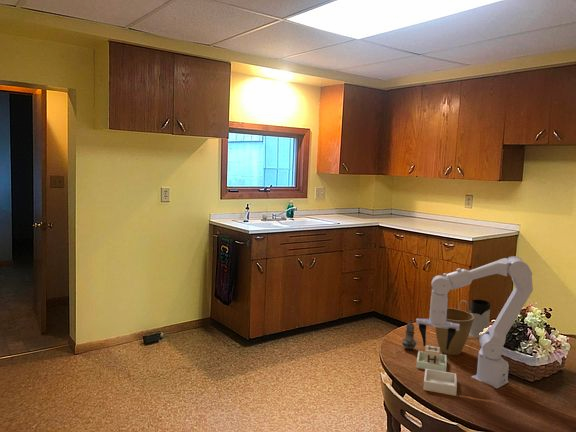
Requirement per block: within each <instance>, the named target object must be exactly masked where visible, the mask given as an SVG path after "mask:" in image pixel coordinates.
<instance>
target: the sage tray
mask: <svg viewBox="0 0 576 432" xmlns="http://www.w3.org/2000/svg"><path fill="white" fill-rule="evenodd" d="M417 351H418V352H417V356H416V357H417V358H416V366H415V368H416V369H421V370H425V369H431V370H437V371H443V372H447V355H448V354H442V353H440V354H439V364H434V363H428V362H424V360H425V351H422V350H417Z"/></svg>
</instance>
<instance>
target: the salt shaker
mask: <svg viewBox="0 0 576 432" xmlns="http://www.w3.org/2000/svg"><path fill="white" fill-rule="evenodd" d="M414 334H416V333H415V324H413V323H412V320H411V321H409V322H408V323H407V324H406V329H405V338H403V339H402V340H401V344H402V346H403V347H404V348H405V349H406V350H408V351H411V350H413V349H414V348H416V346H417V344H418V341H416V340H415V338H414V337H415V335H414Z"/></svg>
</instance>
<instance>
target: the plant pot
mask: <svg viewBox="0 0 576 432" xmlns="http://www.w3.org/2000/svg"><path fill="white" fill-rule="evenodd" d="M470 313H471V312H469V311H466V310H461V309H460V310H459V308H458V309H456V308H452V307H447V317H446V321H447V322H452V323H456V324H459V331H456V333H455V335H454V337H453V338H452V340H451V342H450V345H449V348H448V350H447V349H446V343H447V335H448V329H445V328H438V327H434V328H435V329H434V330H435V335H436V341H437V344H438V347H440V353H443V354H444V355H448V356H449V355H450V356H459V355H460V354H461V353H462V351H463V349H464V347H465V345H466V343H467V340H468V338H469V333H470V330H471V326H472V323H473V319H474V317H473V315H472V314H470Z"/></svg>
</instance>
